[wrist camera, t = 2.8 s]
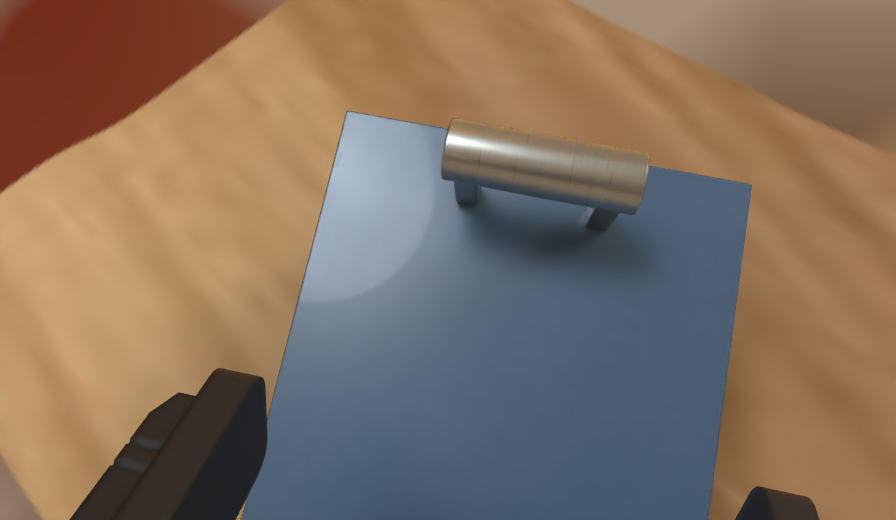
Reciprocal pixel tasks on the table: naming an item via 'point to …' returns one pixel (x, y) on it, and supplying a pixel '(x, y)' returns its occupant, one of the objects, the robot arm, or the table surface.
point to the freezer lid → (504, 333)
